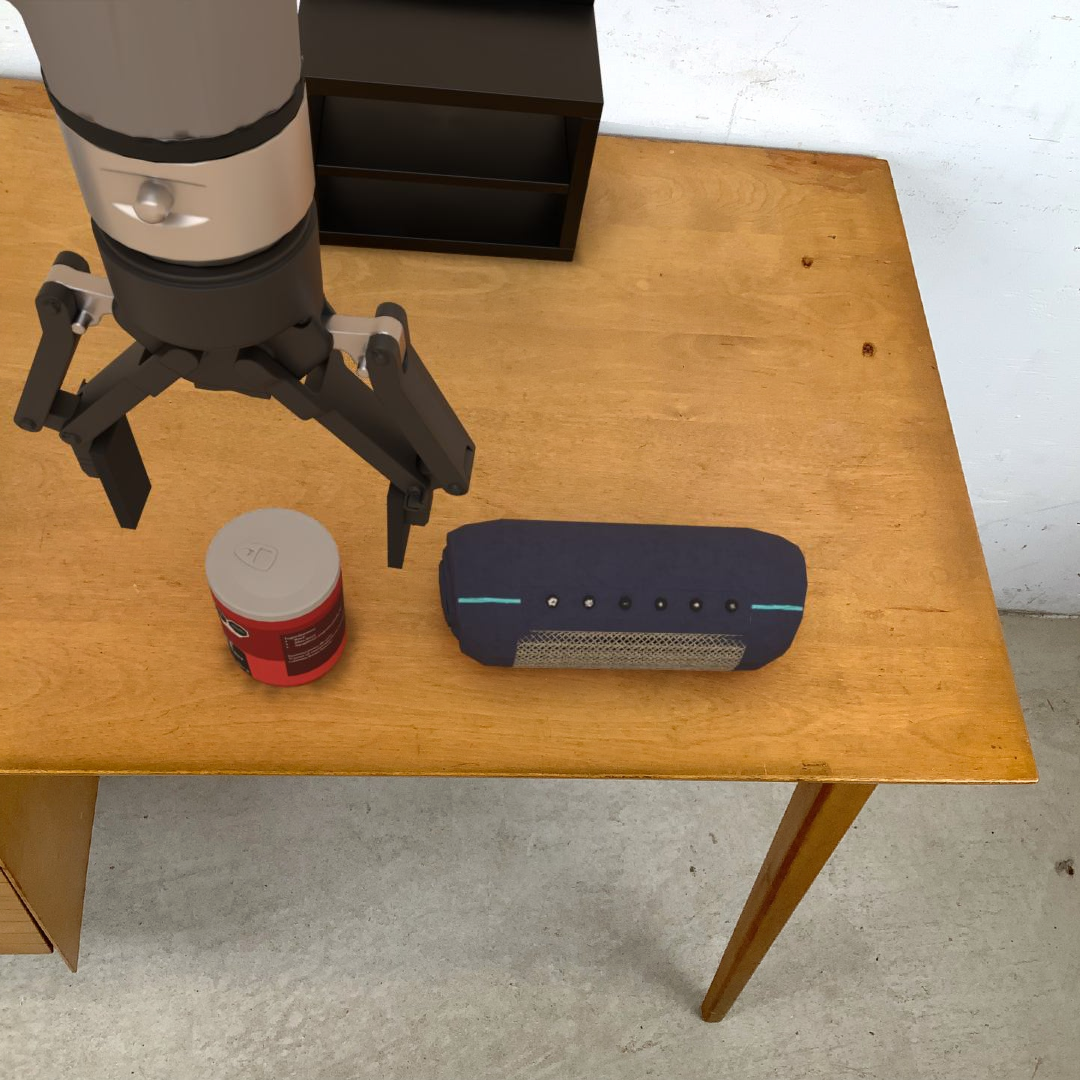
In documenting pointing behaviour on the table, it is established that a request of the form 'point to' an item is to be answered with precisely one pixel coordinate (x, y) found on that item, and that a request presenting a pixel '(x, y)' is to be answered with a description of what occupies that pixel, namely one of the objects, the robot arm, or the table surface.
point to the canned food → (278, 595)
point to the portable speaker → (621, 595)
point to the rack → (452, 123)
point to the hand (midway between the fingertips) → (268, 527)
